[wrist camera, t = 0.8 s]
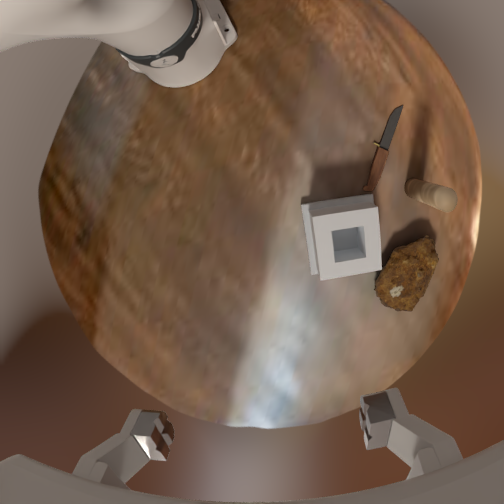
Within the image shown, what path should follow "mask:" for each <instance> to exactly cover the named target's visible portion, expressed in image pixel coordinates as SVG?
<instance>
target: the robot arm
mask: <svg viewBox="0 0 504 504" xmlns="http://www.w3.org/2000/svg"><path fill="white" fill-rule="evenodd" d="M226 29H229V31H228V32H225V30H226ZM55 38H91V39H97V40H100V41H102V42H104V43H107V44H109V45H111V46H113V47H115V48H116V50H117V51H118V52H119V53H121V56H122V57H123V58H125V59H126V60H127V61H128V62H129V67H130V68H131V69H132V70H134V71H136V72H140V73H144V74H146V75H147V76H148V77H149V78H150V79H152V80H153V81H154V82H156V83H158V84H160V85H163V86H166V87H184V86H188V85H191V84H194V83H196V82H198V81H200V80H202V79H203V78H205V77H206V76H207V75H209V74H210V73H211V72H212V71H213V70H214V68H215V67H216V66H217V65H218V63H219V61H220V59H221V57H222V55H223V53H224V51H225V50H226V49H227V48H228V47H229V46H230V45H232V44H233V43H234V42H235V41H236V39H237V33H236V31H235V29H234V27H233V25H232V23H231V21H230V19H229V17H228V15H227V13H226V11H225V9H224V7H223V5H222V3H221V2H220V0H0V53H1V52H3V51H5V50H7V49H10V48H13V47H15V46H18V45H21V44H25V43H29V42H33V41H38V40H45V39H55ZM360 403H361V408H360V424H361V429H362V430H363V431H364V441H365V445H366V449H367V450H370V449H375V448H380V447H384V446H387V447H388V448H389V449H390V450H391V451H392V452H394V453H395V454H396V455H397V456H398V457H399V458H401V459H402V460H403V461H404V462H405V463H407V464H408V465H409V466H410V467H411V470H410V472H409V475H408V477H407V479H406V480H404V481H400V482H396V483H393V484H389V485H385V486H381V487H377V488H372V489H368V490H364V491H358V492H353V493H348V494H342V495H336V496H329V497H322V498H314V499H305V500H294V501H279V502H216V501H201V500H190V499H181V498H173V497H166V496H159V495H153V494H147V493H142V492H137V491H132V490H130V489H129V488H128V487H127V486H126V484H125V483H126V482H127V481H128V480H129V479H130V478H131V477H132V476H133V475H135V474H136V473H137V472H138V471H139V470H140V469H141V468H142V467H143V466H144V465H145V464H146V463H147V462H148V461H149V459H151V460H162V461H167V458H168V455H169V452H170V448H169V445H170V444H171V443H172V442H173V440H174V428H173V425H172V424H171V422H169V421H168V420H167V418H168V416H167V414H166V413H165V412H164V411H154V410H141V409H133V410H132V411H131V412H130V414H129V416H128V418H127V420H126V422H125V424H124V426H123V428H122V430H121V432H120V434H118V433H117V434H115V435H114V436H112V437H111V438H109V439H108V440H106V441H105V442H103V443H102V444H100V445H99V446H97V447H96V448H94V449H92V450H91V451H89V452H88V453H86V454H84V455H83V456H81V458H80V460H79V462H78V464H77V466H76V468H75V469H74V471H73V473H72V474H69V473H67V472H64V471H61V470H58V469H55V468H53V467H50V466H48V465H45V464H42V463H40V462H38V461H35V460H33V459H31V458H28V457H26V456H24V455H20V454H19V455H15V456H12V457H9V458H7V459H5V460H3V461H1V462H0V504H504V440H503V441H501V442H499V443H497V444H495V445H493V446H491V447H489V448H487V449H485V450H483V451H481V452H479V453H477V454H474V455H472V456H470V457H468V458H465V459H463V458H462V455H461V453H460V451H459V449H458V446H457V444H456V442H455V440H454V438H453V437H451V436H450V435H448V434H446V433H444V432H443V431H440V430H439V429H437V428H435V427H434V426H432V425H430V424H429V423H427V422H425V421H423V420H422V419H420V418H418V417H417V416H415V415H413V414H411V415H409V413H408V411H407V408H406V406H405V404H404V401H403V399H402V397H401V394H400V392H399V390H398V388H393V389H389V390H385V391H380V392H376V393H371V394H367V395H362V396H361V399H360Z"/></svg>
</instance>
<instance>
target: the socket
mask: <svg viewBox="0 0 504 504" xmlns="http://www.w3.org/2000/svg"><path fill="white" fill-rule="evenodd" d="M301 209H302V215H303V222H304V228H305V235H306V242H307V249H308V256H309V263H310V271H311V275H314V274H319V277H320V280H327V279H333V278H339V277H345V276H350V275H356V274H362V273H367V272H373V271H378V270H382V260H381V241H380V226H379V214H378V207H377V206H375V205H374V199H373V194H365V195H358V196H351V197H344V198H337V199H330V200H324V201H317V202H311V203H305V204H301Z"/></svg>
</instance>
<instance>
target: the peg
mask: <svg viewBox="0 0 504 504" xmlns="http://www.w3.org/2000/svg"><path fill="white" fill-rule="evenodd" d="M405 193H406V194H407V196H409V197H411V198H413V199H416V200H418V201H420V202H423V203H425V204H428V205H430V206H432V207H435V208H437V209H439V210H442V211H444V212H451V211H452V210H454V208H455V207H456V205H457V194H456V192H455V191H454V190H453V189H451V188H448V187H445V186H441V185H437V184H434V183H430V182H426V181H422V180H419V179H415V178H411V179H409V180H408V181H407V182H406V184H405Z"/></svg>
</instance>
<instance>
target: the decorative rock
mask: <svg viewBox="0 0 504 504" xmlns="http://www.w3.org/2000/svg"><path fill="white" fill-rule="evenodd" d="M438 260H439V258H438V254H437V253H436V250H435V242H434V240H433V239H430V238H429V236H428V235H425V236H424V237H423V238H419V239H418V240H416V242H414V243H410V244H408V245H406V246H404V245H402V246H400V247H397V248H394V250H393V252H392V254H391V256H390V258H389V259H388V262H387V264H386V266H385V267H383V269H382V270H381V272H380V274H379V276H378V278H377V280H376V281H375V283H376V285H375V289H374V290H375V291H376V295H377V297H380V300H381V303H382V304H383V305H384V306H386V307H390V308H393V309H395V310H396V311H402V310H403V311H412V310H413V309H414V307H415V305H416V304H417V302H418V301H419V299H420V297H423V296H424V293H425V292H426V289H427V287H428V284H429V282H430V280H431V278H432V275H433V274H434V270H435V267H436V265H437V263H438Z"/></svg>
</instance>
